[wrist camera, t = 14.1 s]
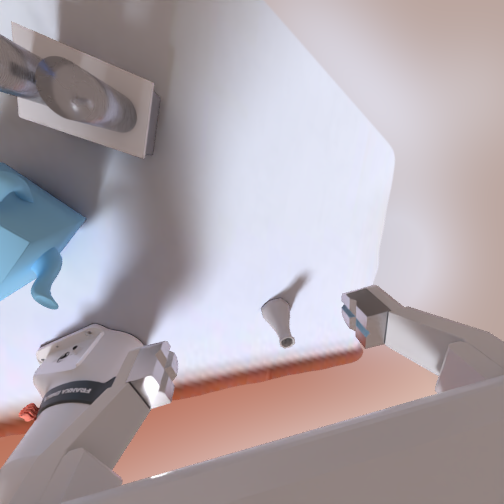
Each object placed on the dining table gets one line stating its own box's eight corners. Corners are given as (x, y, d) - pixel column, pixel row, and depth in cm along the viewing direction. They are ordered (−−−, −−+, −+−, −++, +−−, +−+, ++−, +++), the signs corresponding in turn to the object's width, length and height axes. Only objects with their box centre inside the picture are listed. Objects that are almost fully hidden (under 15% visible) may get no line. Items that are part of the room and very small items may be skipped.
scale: (53, 124, 29) (18, 117, 24) (52, 48, 26) (11, 21, 21) (155, 159, 33) (143, 158, 28) (164, 95, 30) (152, 82, 25)
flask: (294, 312, 51) (309, 345, 42) (268, 325, 51) (279, 360, 42) (282, 292, 48) (296, 323, 39) (255, 306, 48) (263, 340, 39)
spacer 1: (45, 112, 24) (-43, 88, 16) (20, 66, 22) (-95, 13, 14) (81, 104, 24) (12, 77, 16) (59, 58, 23) (-33, 0, 14)
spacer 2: (110, 136, 26) (57, 125, 18) (91, 96, 24) (22, 63, 16) (142, 127, 26) (104, 113, 18) (125, 86, 24) (74, 49, 16)
